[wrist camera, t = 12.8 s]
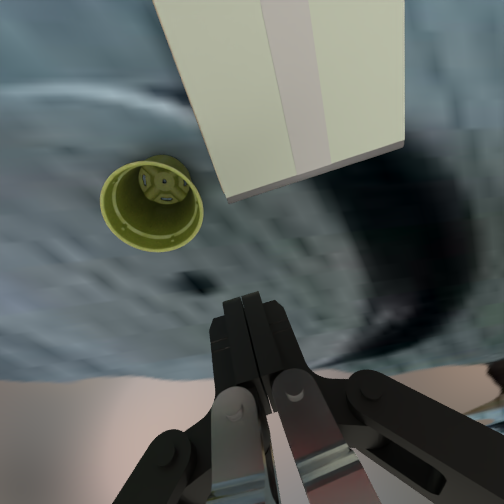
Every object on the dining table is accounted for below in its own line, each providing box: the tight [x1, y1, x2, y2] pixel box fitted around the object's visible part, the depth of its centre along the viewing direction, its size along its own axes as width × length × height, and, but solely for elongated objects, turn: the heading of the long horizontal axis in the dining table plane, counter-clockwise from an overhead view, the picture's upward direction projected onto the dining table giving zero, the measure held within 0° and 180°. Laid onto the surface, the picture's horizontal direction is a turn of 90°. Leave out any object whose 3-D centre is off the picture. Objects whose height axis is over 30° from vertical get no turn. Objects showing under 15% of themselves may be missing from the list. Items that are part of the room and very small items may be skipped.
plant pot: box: [100, 155, 203, 252], centre depth 32 cm, size 9×9×9 cm
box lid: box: [154, 0, 405, 204], centre depth 21 cm, size 16×17×1 cm
